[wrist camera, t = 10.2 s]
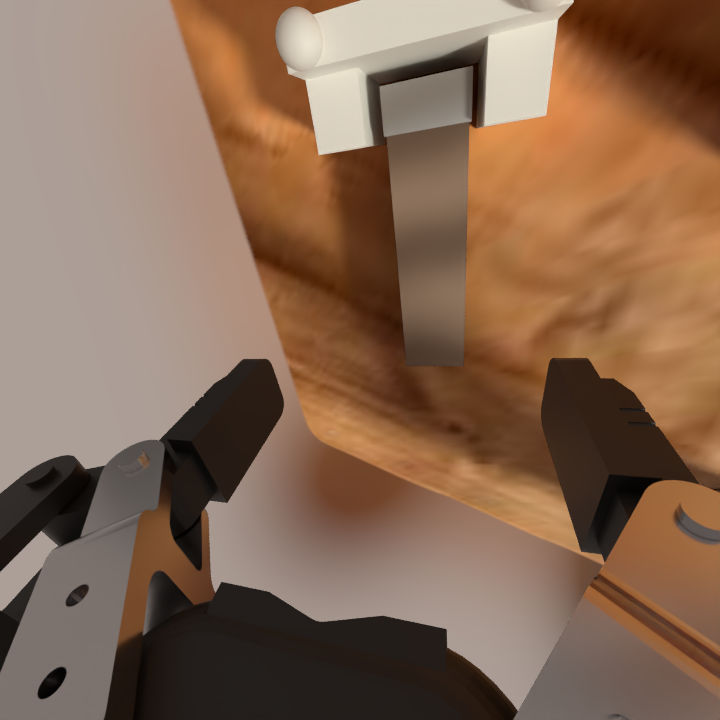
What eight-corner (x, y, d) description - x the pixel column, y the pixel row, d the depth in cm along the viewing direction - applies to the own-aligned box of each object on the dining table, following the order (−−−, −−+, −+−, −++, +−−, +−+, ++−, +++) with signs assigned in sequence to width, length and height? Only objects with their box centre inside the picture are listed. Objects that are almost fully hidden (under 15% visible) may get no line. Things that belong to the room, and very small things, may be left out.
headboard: (522, 120, 19) (569, 110, 11) (348, 150, 22) (292, 159, 14) (532, 7, 17) (602, -102, 9) (335, 57, 19) (259, 7, 12)
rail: (463, 332, 27) (465, 367, 23) (411, 333, 28) (404, 367, 24) (468, 80, 19) (473, 65, 15) (394, 96, 20) (379, 86, 16)
